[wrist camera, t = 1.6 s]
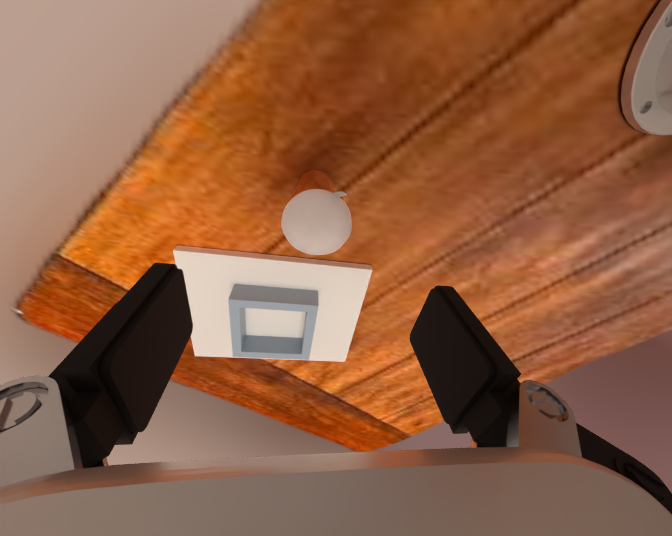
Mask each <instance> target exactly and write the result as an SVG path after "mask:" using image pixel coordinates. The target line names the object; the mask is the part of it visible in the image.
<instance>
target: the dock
mask: <svg viewBox="0 0 672 536" xmlns="http://www.w3.org/2000/svg"><path fill="white" fill-rule="evenodd" d="M173 253H174V258H175V262H176V266H177V268H178V269H182V271H183V274H184V279H185V285H186V290H187V295H188V301H189V306H190V311H191V317H192V322H193V330H192V334H191V339H192V344H193V349H194V353H195V356H210V357H236V358H262V359H288V360H314V361H340V362H345V360H346V356H347V353H348V350H349V346H350V343H351V340H352V336H353V333H354V330H355V326H356V323H357V320H358V317H359V313H360V310H361V307H362V303H363V300H364V297H365V293H366V290H367V287H368V283H369V280H370V277H371V273H372V267H371V265H367V264H357V263H347V262H338V261H328V260H318V259H308V258H299V257H289V256H279V255H269V254H259V253H250V252H240V251H230V250H220V249H211V248H201V247H191V246H181V245H177V246H176V247H175V248H174V250H173Z"/></svg>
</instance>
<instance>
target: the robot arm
mask: <svg viewBox="0 0 672 536" xmlns="http://www.w3.org/2000/svg"><path fill="white" fill-rule="evenodd" d="M621 104H622V110H623V114H624V116H625V118H626V120H627V122H628V123H629V124H630V125H631V126H632V127H633V128H634V129H635V130H638V131H640V132H643V133H646V134H654V135H672V0H661V1H660V3H659V4H658V6H657V7H656V9H655V10H654V12H653V13H652V15H651V17H650V18H649V20H648V21H647V23H646V24H645V26H644V28H643V30H642V32H641V34H640V36H639V37H638V39H637V41H636V43H635V45H634V47H633V50H632V52H631V55H630V58H629V60H628V63H627V65H626V69H625V73H624V77H623V82H622V89H621ZM192 330H193V322H192V317H191V311H190V306H189V301H188V295H187V290H186V285H185V279H184V274H183V271H182V269H178V268H177V266H176V265H175V264H166V263H155V264H153V265H152V266H151V267H150V268H149V270H148V271H147V272H146V273H145V274H144V275H143V276H142V277H141V278H140V279H139V280H138V282H137V283H136V284H135V285H134V286H133V287H132V288H131V289H130V290H129V291H128V292H127V293H126V295H125V296H124V297H123V298H122V299H121V300H120V301H119V302H117V303H116V304H115V305H114V306H113V307H112V308H111V309H110V310H109V311H108V312H107V314H106V315H105V316H104V317H103V318H102V319H101V320H100V321H99V322H98V323H97V324H96V325H95V327H94V328H93V329H92V330H91V331H90V332H89V333H88V334H87V335H86V336H85V337H84V338H83V339H82V341H81V342H80V343H79V344H78V345H77V346H76V347H75V348H74V349H73V350H72V351H71V352H70V354H69V355H68V356H67V357H66V358H65V359H64V360H63V361H62V362H61V363H60V365H58V367H57V368H56V369H55V370H54V371H53V372H52V373H51V374H50V375H49V376H37V375H36V376H29V377H23V378H20V379H17V380H13V381H10V382H7V383H5V384H3V385H0V536H672V493H671V492H670V491H669V489H668V488H667V487H666V485H665V484H664V483H663V482H662V481H661V479H660V478H659V477H658V476H657V475H656V474H655V473H654V472H653V471H651V470H650V469H649V468H647V467H646V466H645V465H643V464H642V463H641V462H639V461H638V460H636V459H635V458H633V457H632V456H630V455H628V454H626V453H625V452H623V451H622V450H620V449H618V448H617V447H615V446H614V445H612V444H610V443H609V442H607V441H605V440H604V439H602V438H600V437H599V436H597V435H596V434H594V433H592V432H591V431H589V430H587V429H586V428H584V427H582V426H581V425H579V424H577V423H576V421H575V417H574V414H573V411H572V410H571V408H570V407H569V406H568V404H567V402H566V401H565V400H564V399H563V398H562V397H561V396H560V395H558V394H557V393H556V392H555V391H554V390H552V389H551V388H549V387H547V386H546V385H544V384H542V383H539V382H537V381H533V380H525V381H523V382H522V383H520V382H519V381H518V380H517V378H518V377H519V376H520V375H521V373H520V372H519V371H518V369H517V368H516V367H515V366H514V364H513V363H512V362H511V360H510V359H509V358H508V357H507V355H506V354H505V353H504V352H503V350H502V349H501V348H500V346H499V345H498V344H497V343H496V341H495V340H494V339H493V338H492V336H491V335H490V334H489V332H488V331H487V330H486V329H485V327H484V326H483V325H482V323H481V322H480V321H479V320H478V318H477V317H476V316H475V315H474V313H473V312H472V311H471V309H470V308H469V307H468V306H467V304H466V303H465V302H464V301H463V299H462V298H461V297H460V295H459V294H458V293H457V292H456V290H455V289H454V288H453V287H451V286H439V285H438V286H436V287H435V288H434V289H432V290H431V291H430V293H429V295H428V297H427V299H426V301H425V304H424V306H423V308H422V310H421V312H420V314H419V316H418V318H417V321H416V323H415V325H414V327H413V329H412V331H411V334H410V342H411V345H412V347H413V349H414V352H415V354H416V356H417V359H418V361H419V363H420V366H421V368H422V370H423V373H424V375H425V377H426V379H427V382H428V384H429V386H430V389H431V391H432V393H433V396H434V398H435V400H436V403H437V405H438V407H439V410H440V412H441V414H442V417H443V419H444V421H445V422H446V423H447V424H449V425H450V428H451V430H452V432H453V433H454V434H458V433H467V432H468V431H469V432H470V434H471V436H472V441H471V447H470V448H450V449H426V450H425V449H424V450H399V451H374V452H352V453H329V454H306V455H285V456H264V457H245V458H244V457H243V458H223V459H203V460H184V461H169V462H155V463H139V464H124V465H111V466H108V462H107V458H106V457H107V456H109V454H110V452H111V451H112V449H113V447H114V445H121V444H123V445H124V444H132V443H133V441H134V439H135V437H136V435H137V433H138V432H142V431H144V430H145V428H146V427H147V425H148V423H149V421H150V419H151V417H152V415H153V413H154V411H155V408H156V406H157V404H158V402H159V400H160V398H161V396H162V394H163V392H164V390H165V388H166V386H167V384H168V382H169V380H170V377H171V375H172V373H173V371H174V369H175V367H176V365H177V363H178V361H179V359H180V357H181V355H182V353H183V351H184V349H185V346H186V344H187V342H188V340H189V338H190V336H191V334H192Z"/></svg>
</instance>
